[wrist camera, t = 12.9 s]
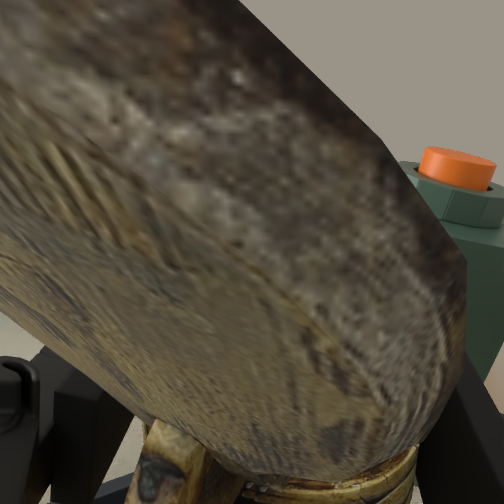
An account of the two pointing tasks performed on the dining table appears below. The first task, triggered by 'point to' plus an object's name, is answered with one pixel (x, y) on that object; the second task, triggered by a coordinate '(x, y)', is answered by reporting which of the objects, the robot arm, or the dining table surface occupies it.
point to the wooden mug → (222, 253)
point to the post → (473, 257)
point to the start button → (457, 168)
